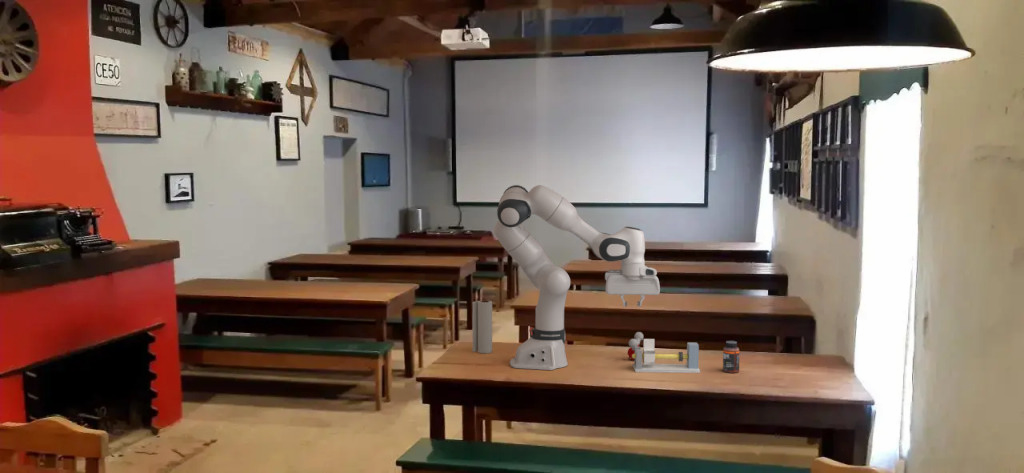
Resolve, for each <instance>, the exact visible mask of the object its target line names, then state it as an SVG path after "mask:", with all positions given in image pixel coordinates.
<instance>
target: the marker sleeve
mask: <svg viewBox="0 0 1024 473" xmlns="http://www.w3.org/2000/svg"><path fill="white" fill-rule="evenodd" d="M642 354H644V359H642V364H644V365H655V364H656V359H655V354H656V350H655V338H643V348H642Z"/></svg>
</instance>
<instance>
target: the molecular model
mask: <svg viewBox="0 0 1024 473" xmlns="http://www.w3.org/2000/svg"><path fill="white" fill-rule="evenodd" d="M643 340H644V334H643V332H641V331H637V332H635V334H634V338H631V339H629V341H628V346H629V347H628V349H627V356H628V358H629V359H630V360H632V361H634V360H635V359H634V358H632V354H635V347H640V343H641V341H643Z"/></svg>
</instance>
